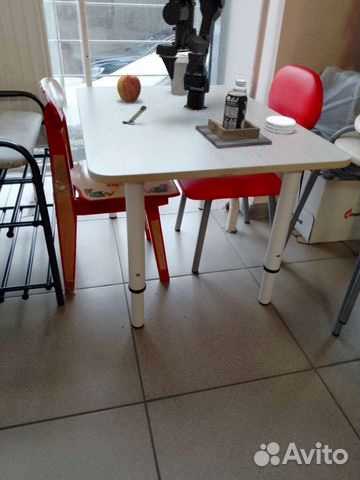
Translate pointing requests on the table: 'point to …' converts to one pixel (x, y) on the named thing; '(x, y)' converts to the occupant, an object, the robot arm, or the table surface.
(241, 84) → the supplement bottle
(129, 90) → the apple
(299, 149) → the table surface
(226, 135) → the loading bay
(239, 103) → the beverage can
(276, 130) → the white ridged disc
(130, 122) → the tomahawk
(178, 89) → the coffee cup
